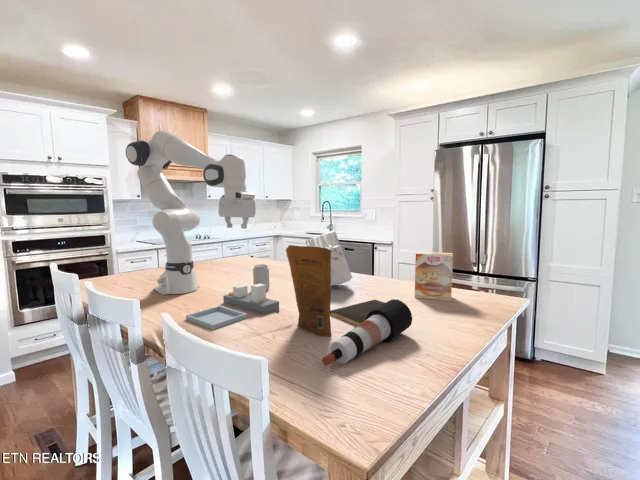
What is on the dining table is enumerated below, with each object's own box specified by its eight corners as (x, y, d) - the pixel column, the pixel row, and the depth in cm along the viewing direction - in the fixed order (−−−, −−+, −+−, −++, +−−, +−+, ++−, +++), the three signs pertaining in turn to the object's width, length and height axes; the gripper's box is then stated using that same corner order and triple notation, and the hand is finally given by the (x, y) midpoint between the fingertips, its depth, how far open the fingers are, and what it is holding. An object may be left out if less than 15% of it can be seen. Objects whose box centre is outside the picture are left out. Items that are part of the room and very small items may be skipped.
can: (266, 292, 158) (265, 266, 157) (251, 291, 160) (250, 266, 158) (271, 288, 165) (271, 263, 164) (257, 287, 167) (256, 263, 166)
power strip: (223, 305, 139) (222, 286, 138) (239, 300, 145) (238, 282, 144) (263, 317, 124) (263, 295, 123) (279, 311, 130) (278, 291, 129)
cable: (321, 383, 87) (305, 345, 89) (392, 332, 111) (379, 303, 112) (346, 379, 80) (329, 338, 81) (417, 326, 104) (403, 295, 105)
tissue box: (355, 285, 158) (336, 232, 156) (321, 297, 159) (302, 245, 156) (351, 275, 179) (335, 229, 177) (322, 286, 180) (305, 240, 177)
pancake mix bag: (324, 341, 102) (323, 249, 99) (285, 325, 116) (284, 243, 113) (339, 335, 106) (339, 247, 103) (301, 320, 120) (299, 242, 117)
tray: (186, 322, 119) (185, 315, 119) (220, 311, 130) (219, 305, 130) (213, 332, 109) (212, 325, 109) (247, 320, 120) (246, 313, 120)
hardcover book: (404, 314, 127) (404, 308, 127) (359, 328, 113) (359, 322, 113) (373, 304, 140) (373, 299, 139) (330, 315, 126) (329, 309, 126)
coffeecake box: (414, 297, 147) (415, 253, 145) (416, 293, 154) (417, 251, 151) (451, 301, 141) (452, 255, 139) (451, 296, 148) (453, 252, 146)
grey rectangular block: (251, 308, 131) (250, 285, 129) (260, 305, 134) (259, 283, 133) (257, 310, 128) (257, 287, 127) (266, 307, 132) (265, 284, 131)
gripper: (214, 195, 144) (215, 227, 145) (245, 194, 131) (246, 229, 133) (226, 195, 149) (227, 226, 150) (257, 194, 136) (258, 228, 138)
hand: (236, 228), depth 141 cm, fingers open, 8 cm apart
